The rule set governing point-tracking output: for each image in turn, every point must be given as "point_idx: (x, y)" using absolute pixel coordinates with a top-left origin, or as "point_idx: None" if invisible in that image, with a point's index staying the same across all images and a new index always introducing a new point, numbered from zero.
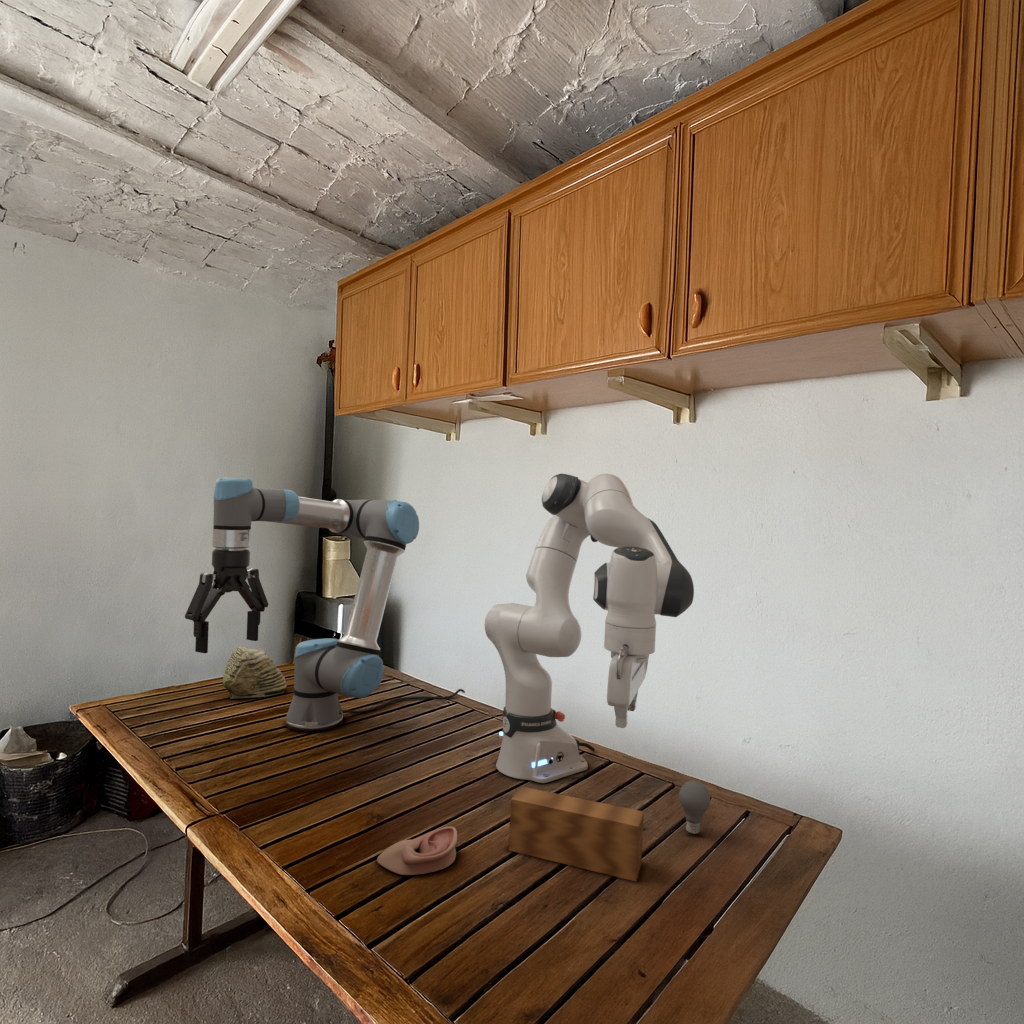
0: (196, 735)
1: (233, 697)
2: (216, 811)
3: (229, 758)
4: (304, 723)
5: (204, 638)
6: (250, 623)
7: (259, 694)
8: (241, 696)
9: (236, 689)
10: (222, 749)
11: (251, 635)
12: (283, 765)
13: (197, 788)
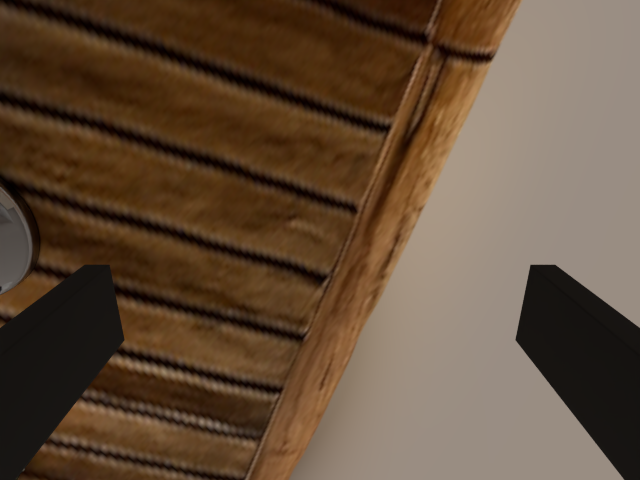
0: (193, 374)
1: None
2: (424, 56)
3: (232, 236)
4: (10, 211)
5: (627, 324)
6: (41, 399)
7: None
8: None
9: None
10: (209, 282)
11: (97, 320)
12: (188, 104)
13: (365, 177)
